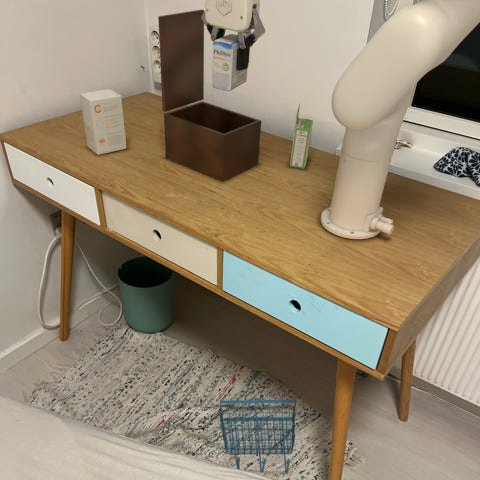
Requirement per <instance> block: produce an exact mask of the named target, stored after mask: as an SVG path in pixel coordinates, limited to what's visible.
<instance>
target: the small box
mask: <svg viewBox="0 0 480 480" xmlns="http://www.w3.org/2000/svg"><path fill="white" fill-rule="evenodd" d="M79 100H80V107H81V113H82V120H83V126H84V134H85V139H86V145H87V148H89V149H90V150H91V151H92V152H94V153H95V154H96V155H98V156H100V155H105V154H108V153H112V152H113V153H114V152H117V151H122V150H126V149H127V138H126V137H127V136H126V129H125V118H124V110H123V109H124V108H123V99H122V95H120V94H119V93H118V92H116V91H114V90H113V89H111V88H107V89H100V90H94V91H88V92H81V93H79Z"/></svg>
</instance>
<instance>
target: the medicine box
mask: <svg viewBox="0 0 480 480" xmlns="http://www.w3.org/2000/svg"><path fill="white" fill-rule="evenodd" d="M245 39H246V37H245ZM238 48H240V44H239V38H238V34H235V33H229V34H227V35H224V37H221V38H219V39H217V40H215V41H212V62H211V63H212V66H211V88H212V89H217V90H221V91H226V92H231V91H233V90H235V89H236V88H238V87H239V86H242V85H243V84H244V83H246V82H247V79H248V68H247V69H244V70H241V71H238V70H237V69H236V62H237V49H238Z"/></svg>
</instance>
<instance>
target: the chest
mask: <svg viewBox="0 0 480 480" xmlns="http://www.w3.org/2000/svg"><path fill="white" fill-rule="evenodd" d="M163 124H164V146H165V148H164V149H165V159H167V160H170V161H171V162H174V163H177V164H179V165H181V166H183V167H186V168H189V169H191V170H193V171H196V172H197V173H198V172H199V173H201V174H204V175H206V176H208V177H210V178H213V179H215V180H218V181H220V182H225V181H227V180H229V179H231V178H233V177H235V176H238V175H239V174H241V173H243V172H245V171H248V170H249V169H251V168H255V166H258V165H259V159H260V157H259V156H260V144H261V131H262V120H261V119H258V118H255V117H252V116H249V115H245V114H242V113H240V112H236V111H233V110H231V109H229V108H228V109H227V108H225V107H221V106H220V105H219V106H218V105H215V104H212V103H210V102H206V101H204V100H201V101H198V102H195V103H192V104H188V105H185V106H182V107H179V108H176V109H173V110H170V111H167V112H164V113H163Z"/></svg>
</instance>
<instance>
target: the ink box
mask: <svg viewBox="0 0 480 480" xmlns="http://www.w3.org/2000/svg"><path fill="white" fill-rule="evenodd" d="M300 106H301V103H298V107H297V112H296V117H295V125H294V130H293V140H292V146H291V154H290V160H289V167H290V168H295V169H300V170H304V169H306V165H307V162H308V160H309V159H308V158H309V152H310V144H311V138H312V131H313V124H314V119H308V118H301V117H299V114H300V108H301V107H300Z"/></svg>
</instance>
